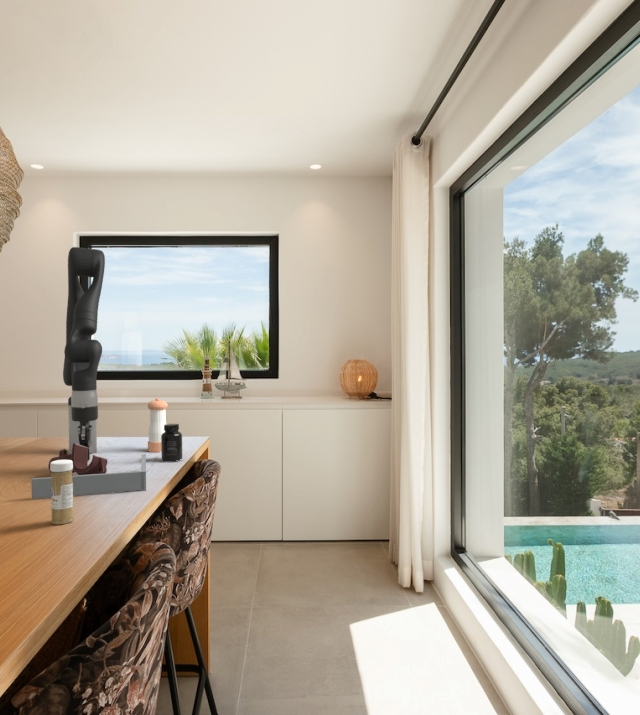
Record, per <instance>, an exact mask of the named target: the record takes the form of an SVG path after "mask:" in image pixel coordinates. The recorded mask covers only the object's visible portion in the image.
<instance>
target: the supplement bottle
mask: <svg viewBox="0 0 640 715" xmlns="http://www.w3.org/2000/svg"><path fill="white" fill-rule="evenodd" d="M179 425H180V423H166V424H165V425H164V430H165V432H164V433H163V434H162V435H161V452H160V453H161V461H162V460H163V462H165V461H174V462H177V461H176V460H180V459H182V460H183V434H182V433H181V432H180V431H179V430H180V426H179ZM180 461H181V460H180Z"/></svg>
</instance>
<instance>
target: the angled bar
mask: <svg viewBox="0 0 640 715" xmlns="http://www.w3.org/2000/svg"><path fill="white" fill-rule="evenodd" d="M146 456H147V455H146V453H145V454H144V453H143V454H141V461H140V463H141V464H140V470H137V471H122V472H121V471H119V472H106V473H105V474H90V475H78V474H76V475H72V482H73V497H77V496H90V495H91V494H92V495H100V494H101V493H105V494H113V493H112V492H118V493H124V492H123V491H131V492H136V491H135V490H143V491H147V462H146V461H147V460H146V459H147V457H146ZM30 481H31V485H30V486H31V500H40V499H51V476H49V477H36V478H35V477H34V478H31V480H30ZM101 495H102V494H101Z"/></svg>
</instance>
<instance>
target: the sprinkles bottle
mask: <svg viewBox="0 0 640 715" xmlns="http://www.w3.org/2000/svg"><path fill="white" fill-rule="evenodd" d="M72 469H73V461H72V460H56V461H52V462H51V463H50V471H51V473H50V477H51V498H50V499H51V503H50V504H51V505H50V508H51V520H50V522H51V524H53V525H59V524H60V525H64V524H68V523H69V524H70V523H72V522H73V521H74V514H73V512H74V510H73V506H74V496H73V482H72V476H73V473H72ZM50 471H49V472H50Z"/></svg>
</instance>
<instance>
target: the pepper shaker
mask: <svg viewBox="0 0 640 715" xmlns="http://www.w3.org/2000/svg"><path fill="white" fill-rule="evenodd" d="M168 406H169V405H168V403H167V401H165V400H162V399H160V397H158V398H157V397H156V398H155V400H151V401H149V402H148V404H147V408H148V410H149V413H150V414H149V425H148V426H149V427H148V441H147V452H148V451H149V452H148V453H161V452H160V451H161V435H162V434H163V433H164V432H165V430H164V425H165V424H167V419H166V418H167V417H166V416H167V414H166V410H167V409H168Z"/></svg>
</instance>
